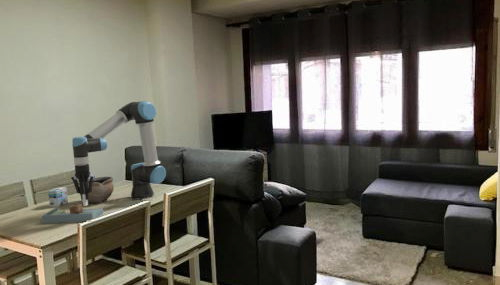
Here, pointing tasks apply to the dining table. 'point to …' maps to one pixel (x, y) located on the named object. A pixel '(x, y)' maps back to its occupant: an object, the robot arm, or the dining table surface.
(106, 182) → the ceramic bowl
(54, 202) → the white toy van
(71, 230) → the dining table surface
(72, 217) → the box
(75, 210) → the walnut block
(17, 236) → the dining table surface
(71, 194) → the dining table surface
